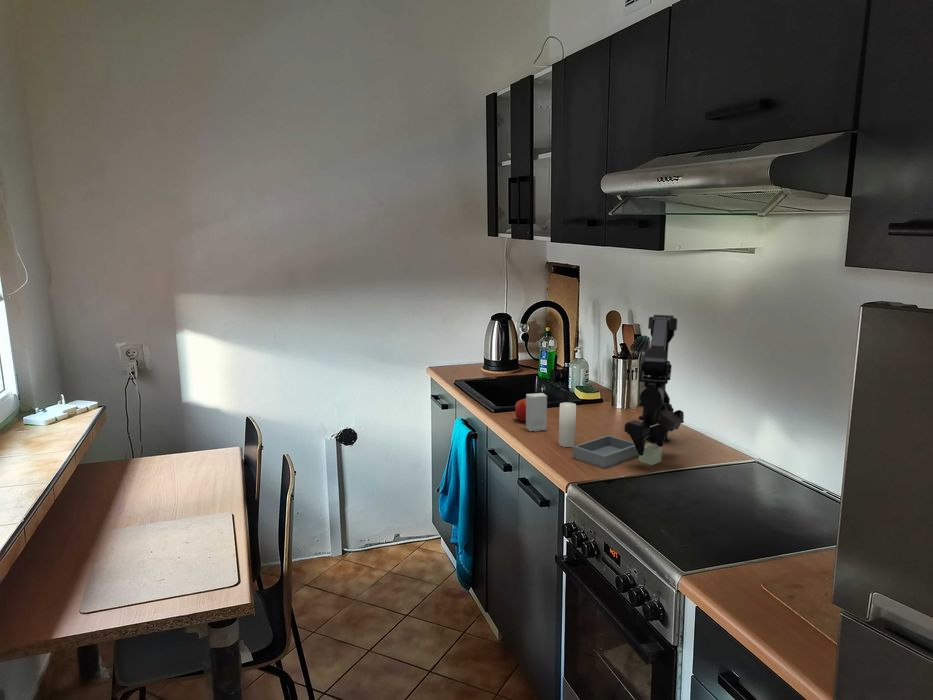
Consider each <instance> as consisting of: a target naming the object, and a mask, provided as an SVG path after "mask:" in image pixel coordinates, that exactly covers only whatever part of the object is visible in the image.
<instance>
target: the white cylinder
mask: <svg viewBox="0 0 933 700" xmlns="http://www.w3.org/2000/svg"><path fill="white" fill-rule="evenodd" d="M558 415H559V417H558V444H559V445H560V446H563V447H562V448H564V447H572V448H573V446H576V424H577V421H576V420H577V404H576V403H574V402H567V401H566V402H560V403H559V414H558ZM559 445H558V446H559ZM560 446H559V447H560Z"/></svg>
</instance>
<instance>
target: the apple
mask: <svg viewBox="0 0 933 700" xmlns="http://www.w3.org/2000/svg"><path fill="white" fill-rule="evenodd" d="M514 409H515V410H514V411H515V414H514V415H515V417H516V419H517V420H519V421H521V420H522V422H525V421H526V398H523V399H522V398H521V399H520V400H518V401H516V403H515V405H514Z"/></svg>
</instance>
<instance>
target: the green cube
mask: <svg viewBox="0 0 933 700" xmlns="http://www.w3.org/2000/svg"><path fill="white" fill-rule="evenodd" d="M662 449H663V446H662V447H660V446H657V444H653V443H651V442H649V443H645V447H644V453H643V456H641V455H639V456H638V462H641V463H643V464H647V465H650V466H654V465H656V464H658V463H659V464H660V463H661V462H662V455H663V453H662V451H663V450H662Z"/></svg>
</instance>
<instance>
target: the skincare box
mask: <svg viewBox="0 0 933 700" xmlns="http://www.w3.org/2000/svg"><path fill="white" fill-rule="evenodd" d="M525 399H526V422H525V429H526V428H527V429H528V430H529V431H534V432H541V431H540V430H545V431H547V424H548V422H547V418H548V417H547V414H548V410H547V409H548V395H546V394H545V393H543V392H538V393H526V394H525ZM528 430H527V431H528ZM529 431H528V432H529Z"/></svg>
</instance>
